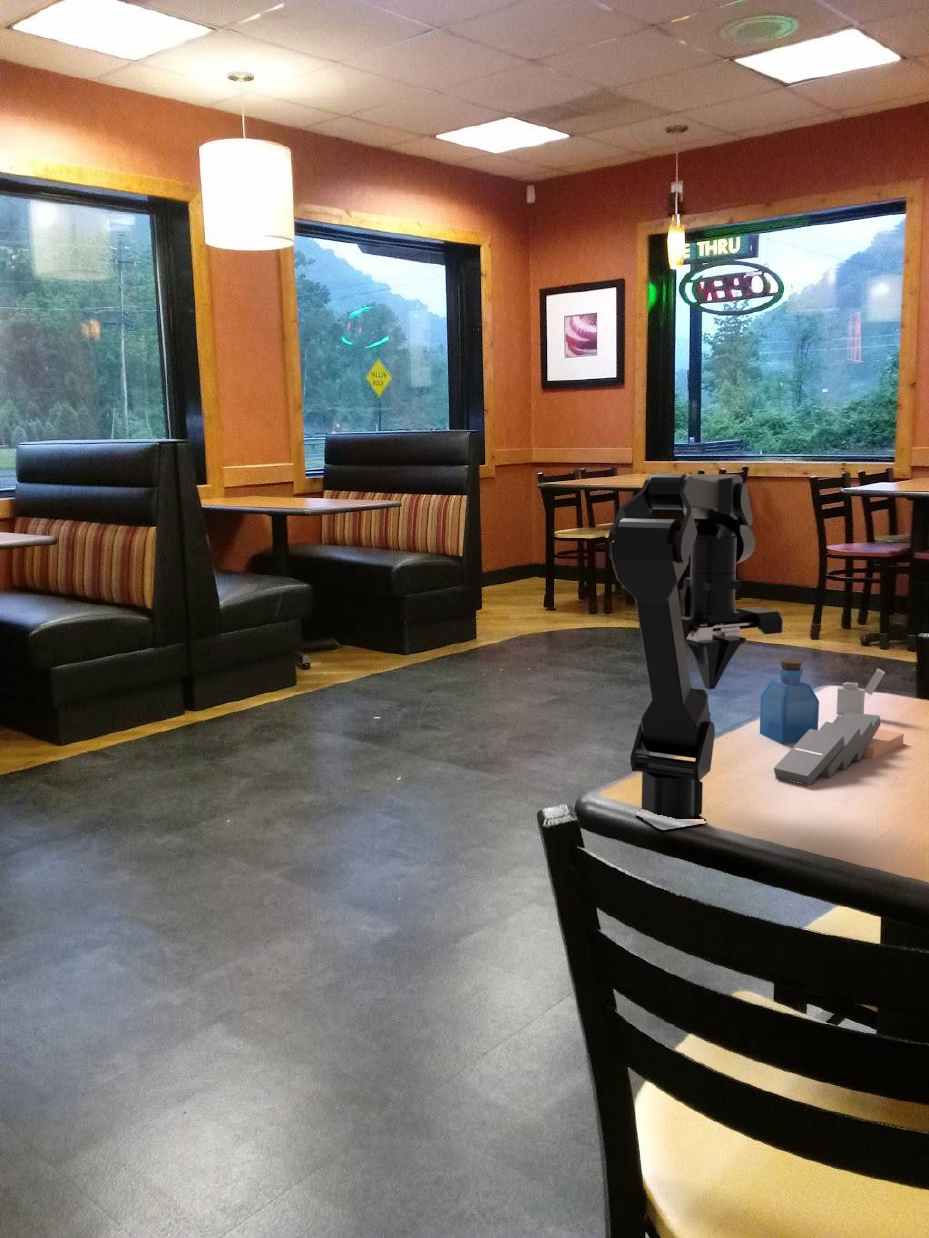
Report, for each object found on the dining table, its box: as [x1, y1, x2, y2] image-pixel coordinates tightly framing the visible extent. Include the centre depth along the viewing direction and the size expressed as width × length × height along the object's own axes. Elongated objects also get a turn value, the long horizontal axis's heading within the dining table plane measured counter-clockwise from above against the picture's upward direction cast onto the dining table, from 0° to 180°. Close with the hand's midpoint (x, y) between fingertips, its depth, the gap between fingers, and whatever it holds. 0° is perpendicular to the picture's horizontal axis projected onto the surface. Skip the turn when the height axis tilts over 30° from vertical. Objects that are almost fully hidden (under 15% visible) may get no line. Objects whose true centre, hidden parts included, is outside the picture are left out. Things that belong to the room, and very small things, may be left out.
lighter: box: [836, 668, 886, 716], centre depth 175 cm, size 7×2×8 cm, turn 63°
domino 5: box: [862, 728, 905, 759], centre depth 158 cm, size 2×5×10 cm
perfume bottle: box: [759, 658, 820, 745], centre depth 163 cm, size 6×6×12 cm
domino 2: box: [818, 721, 861, 779], centre depth 148 cm, size 2×5×10 cm
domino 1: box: [773, 729, 845, 786], centre depth 145 cm, size 2×5×10 cm
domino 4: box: [842, 712, 881, 762], centre depth 155 cm, size 2×5×10 cm
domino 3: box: [832, 714, 873, 771], centre depth 151 cm, size 2×5×10 cm
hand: (709, 688), depth 140 cm, fingers closed
